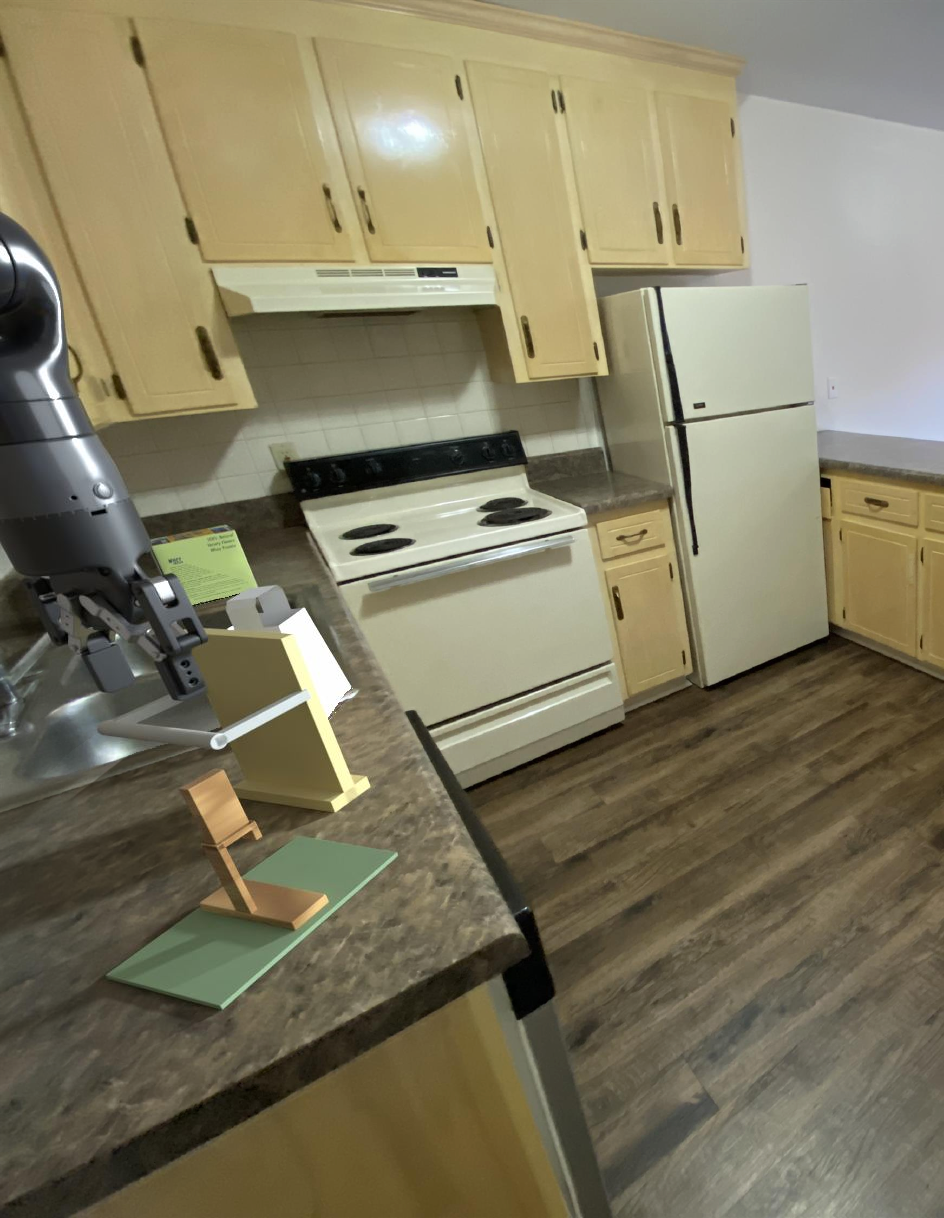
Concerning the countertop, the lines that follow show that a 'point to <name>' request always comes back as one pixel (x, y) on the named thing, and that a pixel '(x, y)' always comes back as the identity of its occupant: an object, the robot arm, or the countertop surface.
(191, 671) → the robot arm
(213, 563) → the protein box
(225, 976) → the mat
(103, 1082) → the countertop surface
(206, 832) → the phone stand
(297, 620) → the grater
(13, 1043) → the countertop surface
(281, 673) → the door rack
